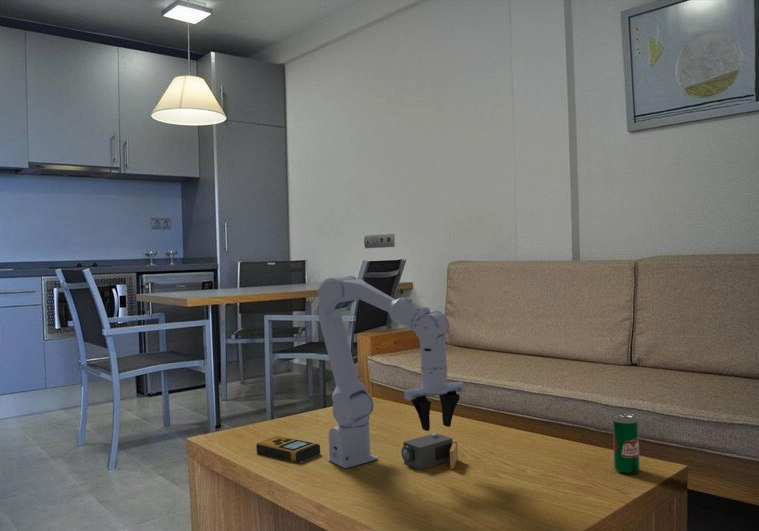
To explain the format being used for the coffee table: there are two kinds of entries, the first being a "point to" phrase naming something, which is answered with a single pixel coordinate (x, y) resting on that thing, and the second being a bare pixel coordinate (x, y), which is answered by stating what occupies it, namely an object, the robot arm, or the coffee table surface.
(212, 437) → the coffee table surface
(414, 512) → the coffee table surface
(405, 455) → the camera body
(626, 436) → the soda can
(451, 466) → the side door
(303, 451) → the electronic device
